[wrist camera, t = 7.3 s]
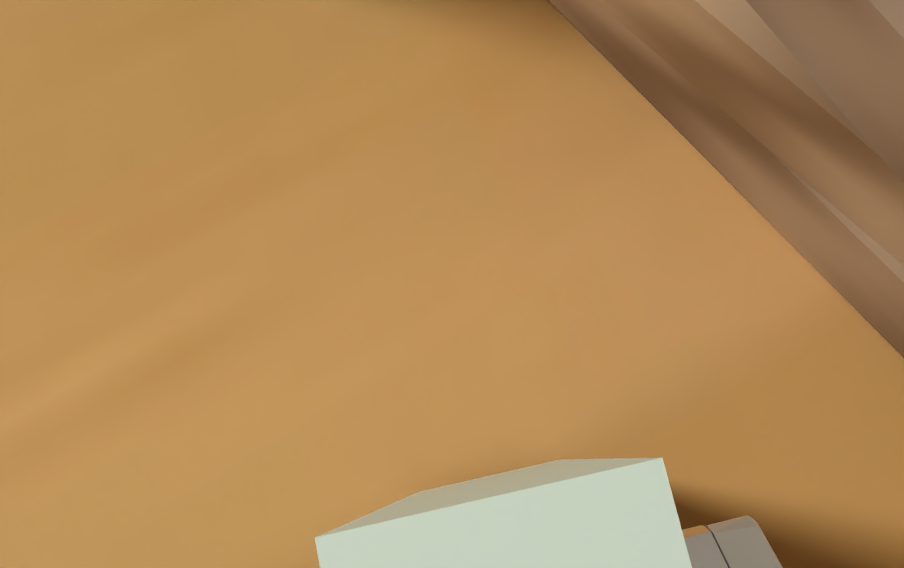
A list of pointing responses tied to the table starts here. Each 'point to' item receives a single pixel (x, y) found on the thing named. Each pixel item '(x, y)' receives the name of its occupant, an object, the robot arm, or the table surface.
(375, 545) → the tall block
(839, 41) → the offcut stack
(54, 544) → the table surface
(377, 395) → the table surface
